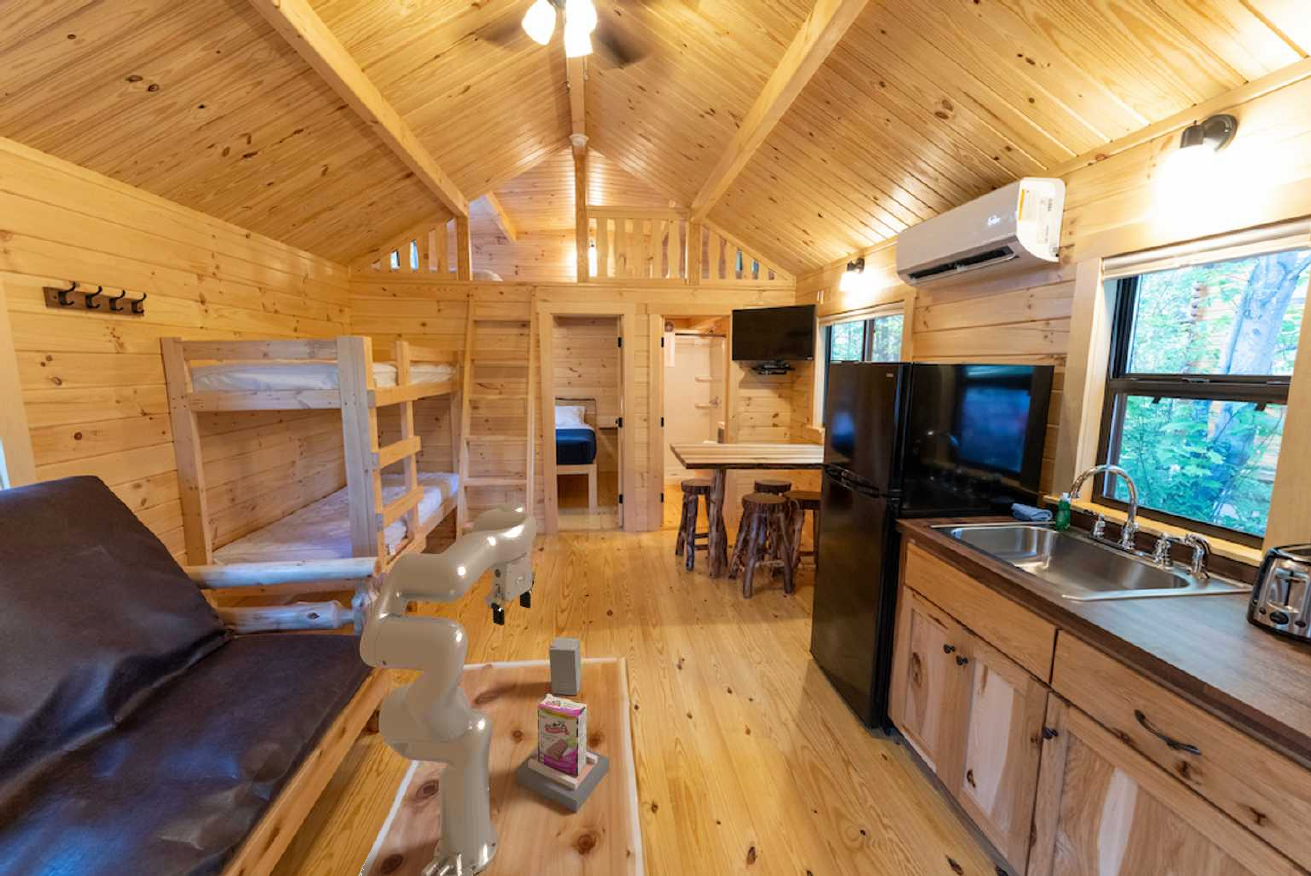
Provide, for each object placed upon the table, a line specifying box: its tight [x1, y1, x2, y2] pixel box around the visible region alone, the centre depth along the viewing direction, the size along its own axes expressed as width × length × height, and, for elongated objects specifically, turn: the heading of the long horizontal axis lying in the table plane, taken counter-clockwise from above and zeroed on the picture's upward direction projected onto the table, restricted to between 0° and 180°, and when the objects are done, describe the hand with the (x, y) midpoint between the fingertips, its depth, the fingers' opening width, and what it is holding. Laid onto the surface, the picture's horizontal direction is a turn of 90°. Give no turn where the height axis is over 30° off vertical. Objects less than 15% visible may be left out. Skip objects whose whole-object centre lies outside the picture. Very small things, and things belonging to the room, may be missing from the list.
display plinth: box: [514, 747, 610, 813], centre depth 124 cm, size 14×18×4 cm
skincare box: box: [548, 636, 583, 696], centre depth 156 cm, size 8×7×16 cm
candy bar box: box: [537, 693, 588, 777], centre depth 123 cm, size 11×5×16 cm, turn 71°
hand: (512, 615), depth 130 cm, fingers open, 9 cm apart
